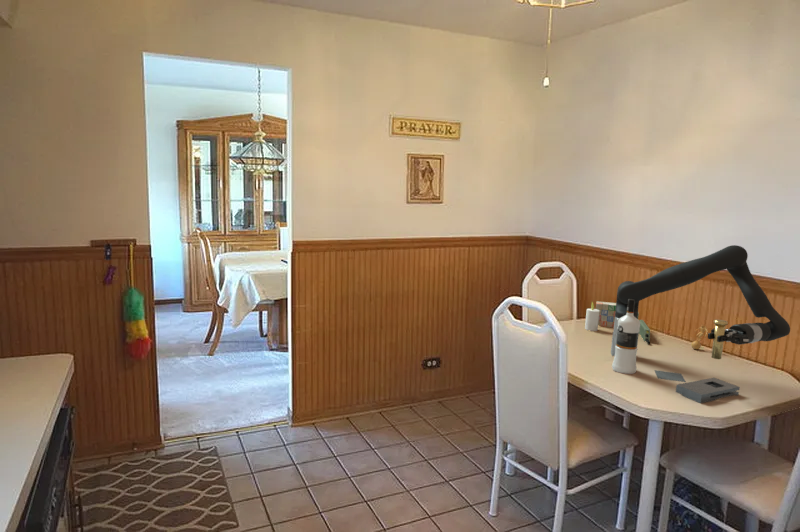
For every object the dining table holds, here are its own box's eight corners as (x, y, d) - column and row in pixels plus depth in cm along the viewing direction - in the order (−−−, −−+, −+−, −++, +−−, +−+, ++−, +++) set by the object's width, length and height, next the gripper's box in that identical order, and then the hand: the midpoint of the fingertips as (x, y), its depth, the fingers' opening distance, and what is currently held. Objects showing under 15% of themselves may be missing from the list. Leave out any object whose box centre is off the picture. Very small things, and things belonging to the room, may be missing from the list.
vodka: (640, 374, 217) (649, 302, 213) (619, 375, 216) (627, 301, 211) (628, 366, 226) (635, 296, 222) (607, 367, 225) (614, 296, 220)
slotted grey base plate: (700, 403, 191) (701, 394, 190) (675, 392, 200) (676, 384, 199) (738, 395, 200) (739, 386, 199) (713, 385, 209) (714, 377, 208)
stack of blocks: (636, 327, 291) (638, 305, 289) (637, 330, 285) (639, 307, 283) (594, 322, 298) (596, 300, 296) (594, 325, 292) (596, 303, 290)
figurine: (686, 346, 259) (689, 322, 257) (698, 346, 259) (701, 322, 257) (696, 352, 251) (700, 326, 249) (709, 352, 251) (712, 327, 249)
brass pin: (711, 358, 199) (715, 321, 196) (708, 355, 203) (712, 319, 200) (724, 360, 197) (729, 323, 195) (721, 356, 201) (725, 320, 199)
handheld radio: (643, 332, 282) (652, 345, 259) (636, 331, 283) (645, 345, 259) (644, 319, 281) (653, 332, 258) (637, 319, 282) (646, 331, 258)
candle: (598, 331, 279) (601, 303, 277) (585, 330, 280) (588, 302, 278) (597, 328, 285) (599, 300, 283) (584, 327, 287) (586, 299, 284)
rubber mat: (657, 379, 213) (657, 378, 213) (654, 371, 222) (654, 370, 222) (685, 383, 210) (685, 382, 210) (681, 374, 219) (681, 373, 219)
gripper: (728, 319, 210) (697, 322, 203) (765, 328, 197) (732, 332, 191) (726, 337, 211) (695, 342, 205) (762, 348, 198) (730, 353, 192)
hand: (713, 337), depth 198 cm, fingers closed on brass pin, 3 cm apart
